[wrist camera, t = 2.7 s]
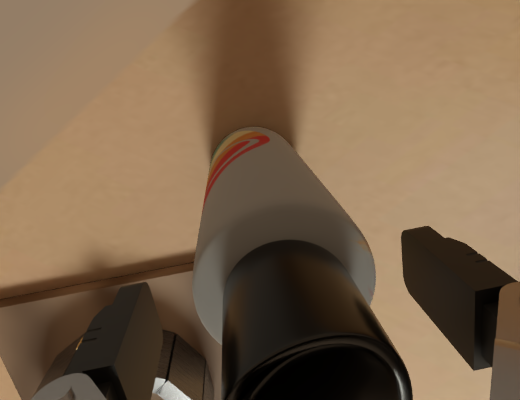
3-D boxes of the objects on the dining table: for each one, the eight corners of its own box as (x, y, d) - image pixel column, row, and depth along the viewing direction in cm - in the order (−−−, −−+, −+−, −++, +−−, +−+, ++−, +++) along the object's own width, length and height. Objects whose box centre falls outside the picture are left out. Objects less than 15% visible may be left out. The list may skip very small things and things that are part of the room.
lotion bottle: (192, 156, 25) (95, 416, 6) (266, 107, 25) (396, 236, 6) (241, 223, 27) (276, 580, 8) (311, 179, 26) (521, 455, 8)
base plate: (212, 258, 28) (212, 268, 26) (257, 446, 34) (258, 461, 33) (-11, 301, 27) (-23, 313, 26) (74, 483, 34) (68, 500, 32)
